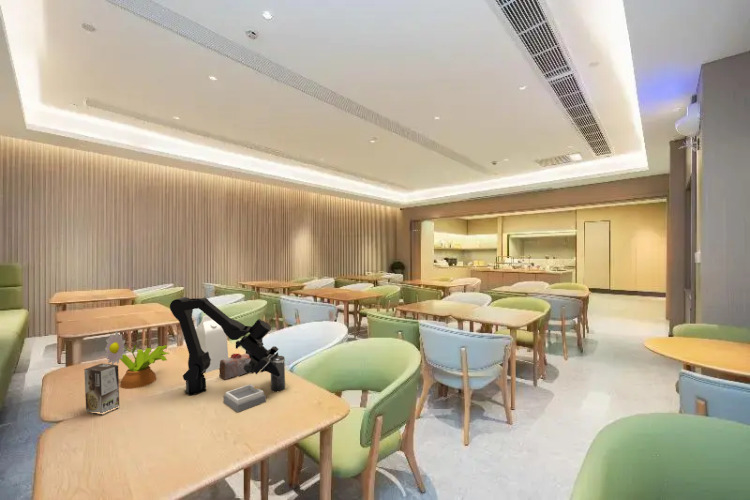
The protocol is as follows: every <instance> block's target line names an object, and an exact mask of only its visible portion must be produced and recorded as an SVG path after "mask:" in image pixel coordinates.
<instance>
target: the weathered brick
mask: <svg viewBox="0 0 750 500" xmlns="http://www.w3.org/2000/svg"><path fill="white" fill-rule="evenodd" d="M250 360H251V358H250V357H249V355H248V354H246V353H244V354H240V353H232V354H231V355H230V357H228V358H226V359H222V360H221V361H220V369H219V378H220V377H221V378H220V379H222V378H223V379H222V380H224V379H226V380H228V378H229V379H232V378H234V377H236V376H239V377H240V375H241V376H243V375H245V374H248V373H247V372H246V371H245V370H244V369H243V368H244V366H245V365H246V364H249V362H250ZM231 377H232V378H231Z"/></svg>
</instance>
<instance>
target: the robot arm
mask: <svg viewBox="0 0 750 500" xmlns="http://www.w3.org/2000/svg"><path fill="white" fill-rule="evenodd" d="M169 309H170V311H171V313H172V315H173V317H174V318H175V319H176V320H178V323H179V324H180V329H181V332H182V336H183V339H184V342H185V345H186V348H187V352H188V360H187V366H188V370H187V371H186V372H184V374H183V375H182V378H183V381H185V390H184V392H185V394H187V395H188V396H194V395H197V394H200V393H202V392H203V391H204V392H207V381H206V380H207V378H206V377H205V374H206V373H205V372H206V369H207V368H209V366H210V361H211V359H210V357H209V352H206V353H205V352H204V351H203V350H202V349H201V346H200V342H199V339H198V336H197V333H196V326H195V322H194V320H193V311H194V310H196V309H199V310H200V311H201V312H203V313H204V314H205V316H206V315H208V316H209V317H210V318H211V319H212V320H214V321H215V322H216V323H217V324H219V325H220V326H221V327H222V329H223V331H224V333H225V334H226V335H227V338H228V339H229V340H231V341H235V349H236V350H237V349H238V348H240V347H242V348H243V350H245V352H246V351H247V352H248V353H249V354H250V355H249V357H250V358H251V360H250V362H249V364H246V365H245V366H244V368H243V369H244V370H245V371H246V372H247V373H246V374H249V373H251V374H254V373H255V375H258V373H263V372H264V373H265V372H267V373H269V374H270V375H271V374H273V375H276V376H278V377H279V376H280V373H279V371H278V369H277V368H276V366H275V364H274V362H273V360H271V361H270V358H271V357H274V356H280V355H279V352H278V351H279V350H280V349H279V348H278V347H277V346H272V347H271V348H270V349H267V347H265V346H264V342H263V343H258V341H257V340H258V339H259V340H261V339H262V340H263V339H264V337H266V335H267V334H268V333H270V332H271V330H272V327H271V326H270V324H269V323H268V322H266V321H264V320H262V319H260V318H259V319H257V320H256V321H255V323H254V324H252V326H251V325H245V324H243V323H242V322H240V321H238V320H236V319H234V318H231V317H229V316H228V315H227V314H226V313H224V312H223V311H222V310H221V309H220V308H218V307H217V306H216V305H214V304H213V303H212V302H211V301H210V300H209V299H208V298H206V297H198V298H195V297H194V298H189V297H187V296H182V297H179V298H176V299H174V300H172V301H171V302H170V304H169ZM241 337H242V338H241ZM240 338H241V339H240ZM239 339H240V340H239Z"/></svg>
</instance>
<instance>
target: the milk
mask: <svg viewBox="0 0 750 500" xmlns="http://www.w3.org/2000/svg"><path fill="white" fill-rule="evenodd" d="M201 319H202V320H201V322H200V323H199V324H198V326H196V327H195V329H196V333H197V336H198V339H199V342H200V346H201V349H202V350H203V351H204V352H205V353H206V352H209V357H210V359H211V361H210V366H209V368H207V369H206V372H205V373H204V374H206V373H210V372H213V371H216V370H220V361H221V360H222V359H226V358H229V350H228V349H229V348H228V336H227V335H226V334H225V333H224V331H223V329H222V327H221V326H220V325H219V324H217V323H216V322H215V321H214V320H212V319H211V318H210V317H209V316H208V315H206V314H205V315H203V316H202V318H201Z"/></svg>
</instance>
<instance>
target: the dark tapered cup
mask: <svg viewBox="0 0 750 500" xmlns="http://www.w3.org/2000/svg"><path fill="white" fill-rule="evenodd" d="M285 359H286V358H285V356H283V355H279V356H274V357H271V358H270V361H271V360H273V362H274V364H275V366H276V368H277V369H278V371H279V373H280V376H279V377H278V376H276V375H273V374H271V373H270V391H271V390H272V391H271V392H273V391H274V393H277V391H279V392H282V391H284V390H285V389H286V377H285V376H286V375H285V374H286V373H285V371H286V370H285V369H286V368H285V367H286V365H285V364H286V363H285V361H286V360H285Z"/></svg>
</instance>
